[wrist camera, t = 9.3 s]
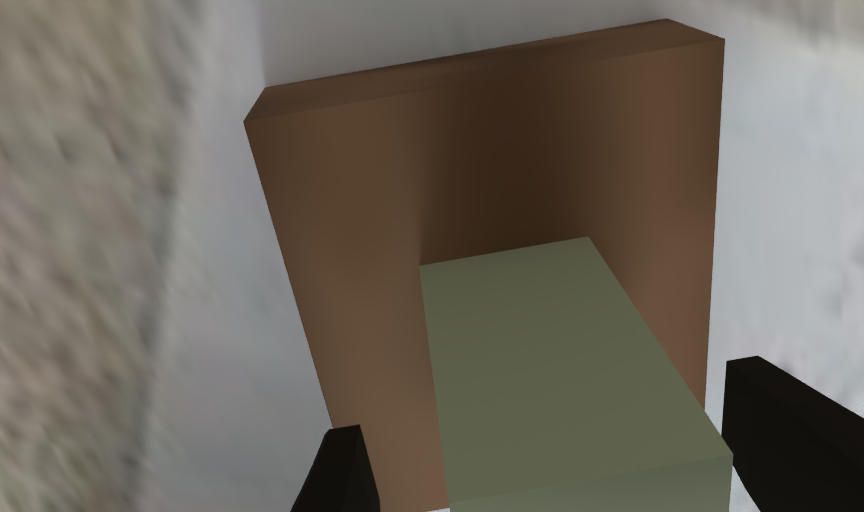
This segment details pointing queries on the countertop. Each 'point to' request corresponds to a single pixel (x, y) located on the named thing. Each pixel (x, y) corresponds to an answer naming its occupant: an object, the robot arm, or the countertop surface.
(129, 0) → the countertop surface
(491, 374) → the block
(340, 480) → the robot arm
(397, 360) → the plinth
